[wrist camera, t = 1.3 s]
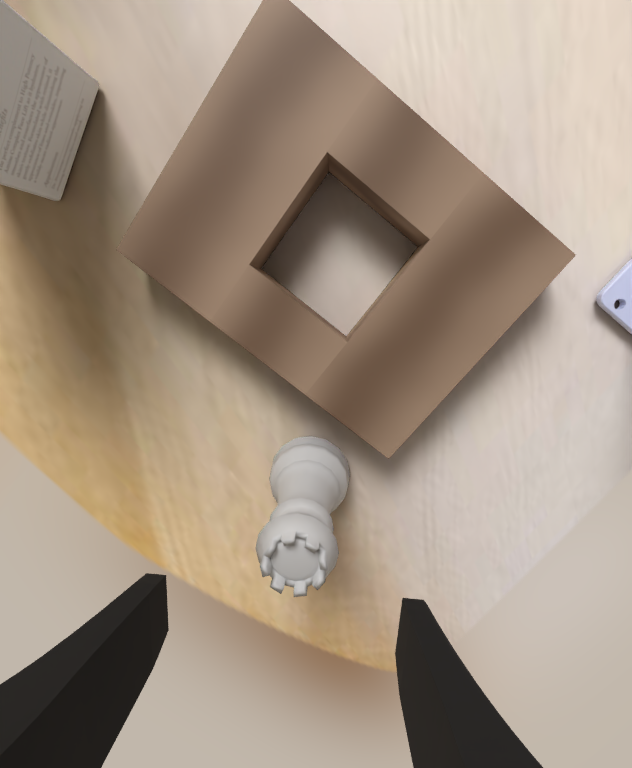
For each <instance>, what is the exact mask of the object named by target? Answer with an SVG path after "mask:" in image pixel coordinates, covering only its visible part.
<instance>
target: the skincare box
mask: <svg viewBox="0 0 632 768" xmlns="http://www.w3.org/2000/svg"><path fill="white" fill-rule="evenodd" d="M98 88H99V83H98V81H97V80H96V79H95V78H93V77H92V76H91V75H89V74H88V73H87V72H86V71H85V70H84V69H82V68H81V67H80V66H79V65H78V64H76V63H75V62H74V61H73V60H72V59H71V58H69V57H68V56H67V55H66V54H65V53H64V52H63V51H61V50H60V49H59V48H58V47H57V46H56V45H54V44H53V43H52V42H51V41H50V40H49V39H47V38H46V37H45V36H44V35H43V34H42V33H40V32H39V31H38V30H37V29H36V28H35V27H33V26H32V25H31V24H30V23H29V22H28V21H26V20H25V19H24V18H23V17H22V16H21V15H19V14H18V13H17V12H16V11H15V10H14V9H12V8H11V7H10V6H9V5H8V4H7V3H5V2H4V1H3V0H0V184H1V185H4V186H8V187H11V188H14V189H18V190H21V191H25V192H28V193H31V194H34V195H38V196H40V197H44V198H47V199H50V200H54V201H59V200H60V199H61V198H62V195H63V192H64V188H65V185H66V182H67V179H68V176H69V173H70V170H71V167H72V164H73V161H74V159H75V156H76V153H77V150H78V147H79V144H80V141H81V138H82V135H83V132H84V129H85V126H86V123H87V121H88V118H89V115H90V112H91V109H92V106H93V103H94V100H95V97H96V94H97V91H98Z"/></svg>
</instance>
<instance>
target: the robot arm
mask: <svg viewBox="0 0 632 768" xmlns="http://www.w3.org/2000/svg"><path fill="white" fill-rule="evenodd" d="M596 300H597V304H598V305H599V306H600V307H601V308H602V309H603V310H604V311H606V312H607V313H608V314H609V315H610V316H611V317H612V318H613V319H615V320H616V321H617V322H618V323H619V324H620V325H621V326H623V327H624V328H625V329H626V330H627V331H628V332H629V333H631V334H632V258H631V259H630V260H629V261H628V262H627V264H626V265H625V266H624V267H623V268H622V269H621V270H620V271H619V272H618V273H617V274H616V275H615V276H614V277H613V278H612V279H611V280H610V281H609V282H608V283H607V284H606V285H605V286H604V287H603V289H602V290H601V291H600V292H599V293H598V295H597V299H596ZM616 300H619V302H620V305H619V307H618V308H617V309H615V307H614V303H615V301H616ZM166 588H167V587H166V575H158V574H145V575H144V576H143V577H142V578H140V579H139V580H138V581H137V582H135V583H134V584H133V585H132V586H131V587H129V588H128V589H127V590H126V591H124V592H123V593H122V594H121V595H120V596H118V597H117V598H116V599H115V600H114V601H113V602H111V603H110V604H109V605H108V606H106V607H105V608H104V609H103V610H101V612H99V613H98V614H97V615H95V616H94V617H93V618H91V619H90V620H89V621H88V622H86V623H85V624H84V625H83V626H81V627H80V628H79V629H78V630H76V631H75V632H74V633H73V634H71V635H70V636H68V637H67V638H66V639H64V640H63V641H62V642H60V643H59V644H58V645H56V646H55V647H54V648H52V649H51V650H50V651H49V652H47V653H46V654H44V655H43V656H42V657H40V658H39V659H37V660H36V661H35V662H33V663H32V664H31V665H29V666H27V667H26V668H24V669H23V670H22V671H20V672H19V673H17V674H16V675H14V676H13V677H11V678H9V679H8V680H6V681H5V682H3V683H2V684H0V768H101V767H102V765H103V763H104V761H105V759H106V757H107V755H108V753H109V752H110V750H111V748H112V746H113V744H114V742H115V740H116V738H117V736H118V734H119V733H120V731H121V729H122V727H123V725H124V723H125V721H126V719H127V717H128V716H129V714H130V712H131V709H132V708H133V706H134V704H135V702H136V700H137V698H138V696H139V695H140V693H141V691H142V689H143V687H144V685H145V683H146V681H147V679H148V677H149V675H150V673H151V671H152V669H153V667H154V665H155V662H156V660H157V658H158V655H159V653H160V650H161V648H162V645H163V643H164V640H165V638H166V635H167V632H168V611H167V610H168V609H167V589H166ZM395 655H396V666H397V676H398V684H399V695H400V700H401V706H402V710H403V716H404V721H405V726H406V731H407V736H408V742H409V747H410V752H411V757H412V762H413V766H414V768H543V767H542V766H541V765H540V763H539V762H538V761H537V760H536V759H535V758H534V756H533V755H532V754H531V753H530V752H529V751H528V749H527V748H526V747H525V746H524V744H523V743H522V742H521V741H520V740H519V738H518V737H517V736H516V735H515V733H514V732H513V731H512V730H511V728H510V727H509V726H508V725H507V723H506V722H505V721H504V720H503V718H502V717H501V716H500V714H499V713H498V712H497V710H496V709H495V708H494V706H493V705H492V704H491V702H490V701H489V700H488V698H487V697H486V695H485V694H484V693H483V691H482V690H481V688H480V687H479V686H478V684H477V683H476V681H475V680H474V679H473V677H472V676H471V674H470V673H469V671H468V670H467V669H466V667H465V665H464V664H463V662H462V661H461V659H460V658H459V656H458V655H457V653H456V652H455V650H454V649H453V647H452V645H451V644H450V642H449V641H448V639H447V637H446V636H445V634H444V633H443V631H442V629H441V628H440V626H439V624H438V623H437V621H436V619H435V617H434V616H433V614H432V612H431V611H430V609H429V607H428V605H427V604H426V602H425V601H424V600H419V599H408V598H403V599H402V607H401V614H400V622H399V629H398V637H397V644H396V652H395Z"/></svg>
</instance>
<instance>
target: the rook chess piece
mask: <svg viewBox="0 0 632 768" xmlns="http://www.w3.org/2000/svg"><path fill="white" fill-rule="evenodd" d="M349 477H350V473H349V467H348V461H347V459H346V458H345V456H344V455H343V453H342V452H341V450H340V449H339V448H338V447H337V446H335V445H334V444H332V443H331V442H329V441H328V440H326V439H322V438H318V437H313V436H307V437H300V438H295V439H293V440H291V441H290V442H288V443H286V444H285V445H283V446H282V447H281V448H280V450H279V451H278V452H277V454H276V455H275V456H274V459H273V464H272V468H271V473H270V478H269V480H270V485H271V489H272V494H273V497H274V498H275V499H276V502H277V503H278V505H277V507H276V508H275V510H274V511H273V512H272V514H271V516H270V521H269V522H268V523H267V524H266V525H265V526H264V528H263V529H262V530H261V532H260V533H259V534H258V539H257V544H256V552H257V556H258V560H259V563H260V568H261V572H262V576H263V577H265V576H269V575H270V576H271V577H272V581H271V585H270V587H271V588H272V589H274V590H275V591H277V592H279V593H280V594H281V593H282V591H283V589H284V585H286V586H290V587H294V597H299V596H307V587H308V586H310V585H313V586H314V587H315V588H316V589H317V590H318V589H319V588H320V587H321V586H322V585H323V584H324V582H325V578H326V577H327V576H328V574H329V573H330V572H331V571H332V570H333V569H334V567H335V565H336V562H337V558H338V554H339V551H338V546H337V540H336V538H335V536H334V535H333V530H334V528H333V523H332V518H331V516H330V514H331V512H332V511H334V510H335V509H336V508H337V507H338V506H339V505H340V503H341V502H342V501H343V500H344V498H345V496H346V492H347V488H348V485H349Z"/></svg>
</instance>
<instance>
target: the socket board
mask: <svg viewBox="0 0 632 768" xmlns="http://www.w3.org/2000/svg"><path fill="white" fill-rule="evenodd" d="M328 172H330V173H331V174H332V175H334V176H335V177H336V178H337V179H338V180H339V181H341V182H342V183H343V184H344V185H345V186H347V187H348V188H349V189H350V190H351V191H352V192H354V193H355V194H356V195H357V196H358V197H360V198H361V199H362V200H363V201H364V202H366V203H367V204H368V205H369V206H370V207H371V208H373V209H374V210H375V211H376V212H377V213H379V214H380V215H381V216H382V217H383V218H384V219H386V220H387V221H388V222H389V223H390V224H392V225H393V226H394V227H395V228H396V229H397V230H399V231H400V232H401V233H402V234H403V235H405V236H406V237H407V238H408V239H409V240H410V241H412V242H413V243H414V244H415V245H416V246H418V248H417V249H416V250H415V252H414V253H413V254H412V255H411V257H410V258H409V259H408V260H407V262H406V263H405V264H404V265H403V267H402V268H401V269H400V270H399V272H398V273H397V274H396V275H395V277H394V278H393V279H392V280H391V282H390V283H389V284H388V285H387V287H386V288H385V289H384V290H383V292H382V293H381V294H380V295H379V297H378V298H377V299H376V300H375V302H374V303H373V304H372V305H371V307H370V308H369V309H368V310H367V312H366V313H365V314H364V315H363V317H362V318H361V319H360V320H359V321H358V323H357V324H356V325H355V326H354V328H353V329H352V330H351V331H350V333H349V334H348V335H347V336H345V335H344V334H342V333H341V332H340V331H339V330H337V329H336V328H335V327H334V326H332V325H331V324H330V323H329V322H327V321H326V320H325V319H324V318H322V317H321V316H320V315H319V314H317V313H316V312H315V311H314V310H312V309H311V308H310V307H309V306H307V305H306V304H305V303H304V302H302V301H301V300H300V299H298V298H297V297H296V296H295V295H293V294H292V293H291V292H290V291H288V290H287V289H286V288H285V287H283V286H282V285H281V284H280V283H278V282H277V281H276V280H275V279H273V278H272V277H271V276H270V275H268V274H267V273H266V272H265V271H263V270H262V269H261V268H262V266H263V265H264V263H265V262H266V261H267V259H268V258H269V256H270V255H271V253H272V252H273V251H274V249H275V248H276V246H277V245H278V243H279V242H280V241H281V239H282V238H283V236H284V235H285V233H286V232H287V231H288V229H289V228H290V226H291V225H292V224H293V222H294V221H295V219H296V218H297V216H298V215H299V214H300V212H301V211H302V209H303V208H304V206H305V205H306V204H307V202H308V201H309V199H310V198H311V196H312V195H313V194H314V192H315V191H316V189H317V188H318V186H319V185H320V184H321V182H322V181H323V179H324V178H325V176H326V175H327V174H328ZM116 250H117V251H118V252H120V253H121V254H122V255H124V256H125V257H126V258H127V259H129V260H130V261H131V262H133V263H134V264H135V265H137V266H138V267H139V268H140V269H142V270H143V271H144V272H146V273H147V274H148V275H150V276H151V277H152V278H153V279H155V280H156V281H157V282H159V283H160V284H161V285H163V286H164V287H165V288H167V289H168V290H169V291H170V292H172V293H173V294H174V295H176V296H177V297H178V298H180V299H181V300H182V301H183V302H185V303H186V304H187V305H189V306H190V307H191V308H193V309H194V310H195V311H196V312H198V313H199V314H200V315H202V316H203V317H204V318H206V319H207V320H208V321H210V322H211V323H212V324H213V325H215V326H216V327H217V328H219V329H220V330H221V331H223V332H224V333H225V334H226V335H228V336H229V337H230V338H232V339H233V340H234V341H236V342H237V343H238V344H239V345H241V346H242V347H243V348H245V349H246V350H247V351H249V352H250V353H251V354H252V355H254V356H255V357H256V358H258V359H259V360H260V361H262V362H263V363H264V364H266V365H267V366H268V367H269V368H271V369H272V370H273V371H275V372H276V373H277V374H279V375H280V376H281V377H282V378H284V379H285V380H286V381H288V382H289V383H290V384H292V385H293V386H294V387H295V388H297V389H298V390H299V391H301V392H302V393H303V394H305V395H306V396H307V397H309V398H310V399H311V400H312V401H314V402H315V403H316V404H318V405H319V406H320V407H322V408H323V409H324V410H325V411H327V412H328V413H329V414H331V415H332V416H333V417H335V418H336V419H337V420H338V421H340V422H341V423H342V424H344V425H345V426H346V427H348V428H349V429H350V430H352V431H353V432H354V433H355V434H357V435H358V436H359V437H361V438H362V439H363V440H365V441H366V442H367V443H368V444H370V445H371V446H372V447H374V448H375V449H376V450H378V451H379V452H380V453H381V454H383V455H384V456H385V457H387V458H388V459H389V458H390V457H391V456H392V455H393V454H394V453H395V451H396V450H397V449H398V448H399V447H400V446H401V445H402V444H403V443H404V442H405V441H406V439H407V438H408V437H409V436H410V435H411V434H412V433H413V432H414V431H415V430H416V429H417V427H418V426H419V425H420V424H421V423H422V422H423V421H424V420H425V419H426V418H427V417H428V416H429V414H430V413H431V412H432V411H433V410H434V409H435V408H436V407H437V406H438V405H439V404H440V402H441V401H442V400H443V399H444V398H445V397H446V396H447V395H448V394H449V393H450V392H451V390H452V389H453V388H454V387H455V386H456V385H457V384H458V383H459V382H460V381H461V380H462V378H463V377H464V376H465V375H466V374H467V373H468V372H469V371H470V370H471V369H472V368H473V367H474V365H475V364H476V363H477V362H478V361H479V360H480V359H481V358H482V357H483V356H484V355H485V353H486V352H487V351H488V350H489V349H490V348H491V347H492V346H493V345H494V344H495V343H496V341H497V340H498V339H499V338H500V337H501V336H502V335H503V334H504V333H505V332H506V331H507V330H508V328H509V327H510V326H511V325H512V324H513V323H514V322H515V321H516V320H517V319H518V318H519V316H520V315H521V314H522V313H523V312H524V311H525V310H526V309H527V308H528V307H529V306H530V304H531V303H532V302H533V301H534V300H535V299H536V298H537V297H538V296H539V295H540V294H541V292H542V291H543V290H544V289H545V288H546V287H547V286H548V285H549V284H550V283H551V282H552V281H553V279H554V278H555V277H556V276H557V275H558V274H559V273H560V272H561V271H562V270H563V269H564V267H565V266H566V265H567V264H568V263H569V262H570V261H571V260H572V259H573V258H574V257H575V254H574V253H573V252H572V251H571V250H570V249H569V248H567V247H566V246H565V245H564V244H563V243H562V242H561V241H560V240H558V239H557V238H556V237H555V236H554V235H553V234H552V233H551V232H549V231H548V230H547V229H546V228H545V227H544V226H543V225H542V224H540V223H539V222H538V221H537V220H536V219H535V218H534V217H533V216H531V215H530V214H529V213H528V212H527V211H526V210H525V209H524V208H522V207H521V206H520V205H519V204H518V203H517V202H516V201H514V200H513V199H512V198H511V197H510V196H509V195H508V194H507V193H505V192H504V191H503V190H502V189H501V188H500V187H499V186H498V185H496V184H495V183H494V182H493V181H492V180H491V179H490V178H489V177H487V176H486V175H485V174H484V173H483V172H482V171H481V170H480V169H478V168H477V167H476V166H475V165H474V164H473V163H472V162H471V161H469V160H468V159H467V158H466V157H465V156H464V155H463V154H462V153H460V152H459V151H458V150H457V149H456V148H455V147H454V146H453V145H451V144H450V143H449V142H448V141H447V140H446V139H445V138H444V137H442V136H441V135H440V134H439V133H438V132H437V131H436V130H435V129H433V128H432V127H431V126H430V125H429V124H428V123H427V122H426V121H424V120H423V119H422V118H421V117H420V116H419V115H418V114H417V113H415V112H414V111H413V110H412V109H411V108H410V107H409V106H408V105H406V104H405V103H404V102H403V101H402V100H401V99H400V98H399V97H397V96H396V95H395V94H394V93H393V92H392V91H391V90H390V89H388V88H387V87H386V86H385V85H384V84H383V83H382V82H381V81H379V80H378V79H377V78H376V77H375V76H374V75H373V74H372V73H370V72H369V71H368V70H367V69H366V68H365V67H364V66H362V65H361V64H360V63H359V62H358V61H357V60H356V59H355V58H353V57H352V56H351V55H350V54H349V53H348V52H347V51H346V50H344V49H343V48H342V47H341V46H340V45H339V44H338V43H337V42H335V41H334V40H333V39H332V38H331V37H330V36H329V35H328V34H326V33H325V32H324V31H323V30H322V29H321V28H320V27H319V26H317V25H316V24H315V23H314V22H313V21H312V20H311V19H310V18H308V17H307V16H306V15H305V14H304V13H303V12H302V11H301V10H299V9H298V8H297V7H296V6H295V5H294V4H293V3H292V2H290V1H289V0H263V1H262V3H261V4H260V6H259V8H258V10H257V11H256V13H255V15H254V16H253V18H252V20H251V21H250V23H249V25H248V27H247V28H246V30H245V32H244V33H243V35H242V37H241V38H240V40H239V42H238V44H237V45H236V47H235V49H234V50H233V52H232V54H231V55H230V57H229V59H228V60H227V62H226V64H225V66H224V67H223V69H222V71H221V72H220V74H219V76H218V77H217V79H216V81H215V83H214V84H213V86H212V88H211V89H210V91H209V93H208V94H207V96H206V98H205V99H204V101H203V103H202V105H201V106H200V108H199V110H198V111H197V113H196V115H195V116H194V118H193V120H192V122H191V123H190V125H189V127H188V128H187V130H186V132H185V133H184V135H183V137H182V139H181V140H180V142H179V144H178V145H177V147H176V149H175V150H174V152H173V154H172V155H171V157H170V159H169V161H168V162H167V164H166V166H165V167H164V169H163V171H162V172H161V174H160V176H159V178H158V179H157V181H156V183H155V184H154V186H153V188H152V189H151V191H150V193H149V195H148V196H147V198H146V200H145V201H144V203H143V205H142V206H141V208H140V210H139V211H138V213H137V215H136V217H135V218H134V220H133V222H132V223H131V225H130V227H129V228H128V230H127V232H126V234H125V235H124V237H123V239H122V240H121V242H120V244H119V245H118V247H117V249H116Z"/></svg>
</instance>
